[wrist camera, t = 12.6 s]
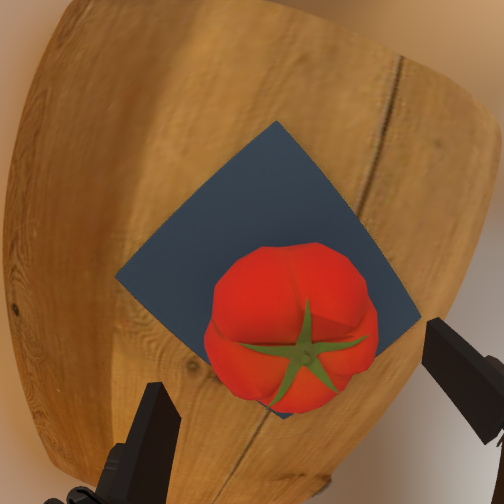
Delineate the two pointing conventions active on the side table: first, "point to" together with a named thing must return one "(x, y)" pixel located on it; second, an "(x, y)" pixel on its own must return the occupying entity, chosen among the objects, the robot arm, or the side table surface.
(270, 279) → the tomato
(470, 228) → the side table surface
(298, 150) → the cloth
